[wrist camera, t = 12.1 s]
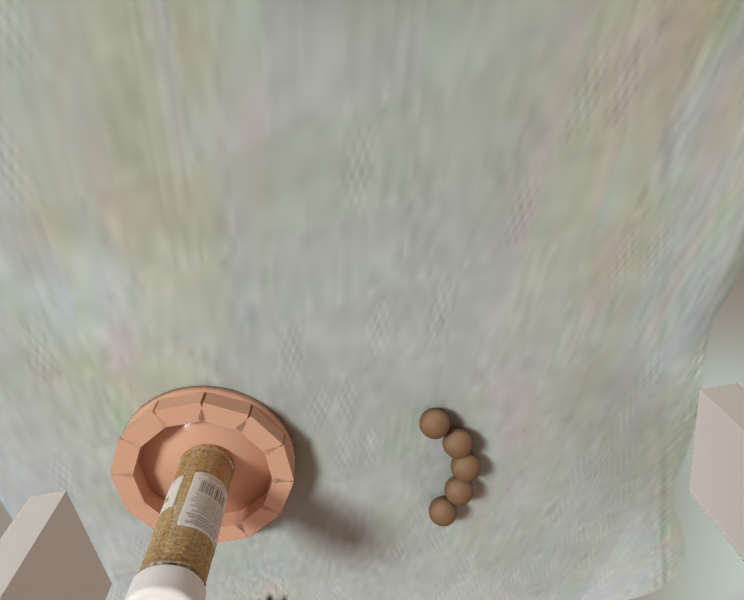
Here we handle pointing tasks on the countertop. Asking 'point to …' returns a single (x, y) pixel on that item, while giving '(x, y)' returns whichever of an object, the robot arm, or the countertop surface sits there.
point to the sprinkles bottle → (186, 528)
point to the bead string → (462, 465)
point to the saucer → (207, 427)
